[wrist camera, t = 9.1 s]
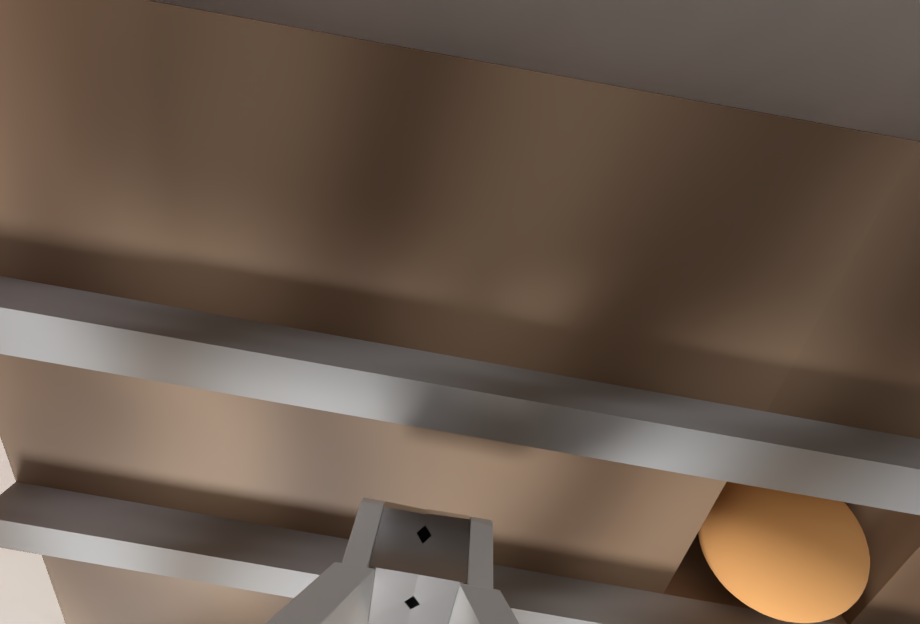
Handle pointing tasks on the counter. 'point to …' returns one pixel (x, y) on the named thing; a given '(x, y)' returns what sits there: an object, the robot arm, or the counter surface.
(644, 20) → the counter surface
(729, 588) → the rubber ball
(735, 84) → the counter surface
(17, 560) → the counter surface
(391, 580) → the robot arm
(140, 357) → the walnut track
